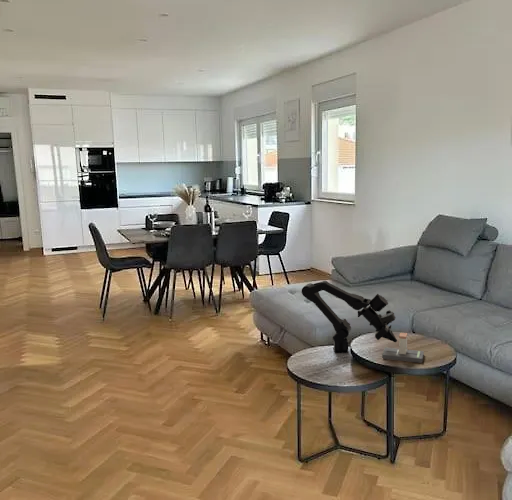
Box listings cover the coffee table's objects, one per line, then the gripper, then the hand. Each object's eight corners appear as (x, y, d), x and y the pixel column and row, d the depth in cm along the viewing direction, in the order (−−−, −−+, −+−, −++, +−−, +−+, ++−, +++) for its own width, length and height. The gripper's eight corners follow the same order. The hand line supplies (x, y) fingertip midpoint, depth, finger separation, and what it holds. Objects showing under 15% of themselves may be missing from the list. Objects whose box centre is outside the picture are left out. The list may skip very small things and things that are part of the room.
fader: (398, 353, 234) (399, 336, 232) (400, 350, 238) (400, 332, 237) (405, 354, 232) (406, 336, 231) (407, 350, 237) (407, 333, 236)
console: (382, 358, 235) (382, 354, 234) (385, 351, 244) (385, 347, 243) (422, 362, 228) (422, 358, 227) (423, 355, 237) (423, 350, 237)
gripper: (382, 312, 227) (407, 337, 224) (387, 301, 244) (410, 325, 241) (364, 327, 231) (389, 352, 228) (371, 316, 248) (394, 339, 245)
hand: (396, 341), depth 236 cm, fingers closed
